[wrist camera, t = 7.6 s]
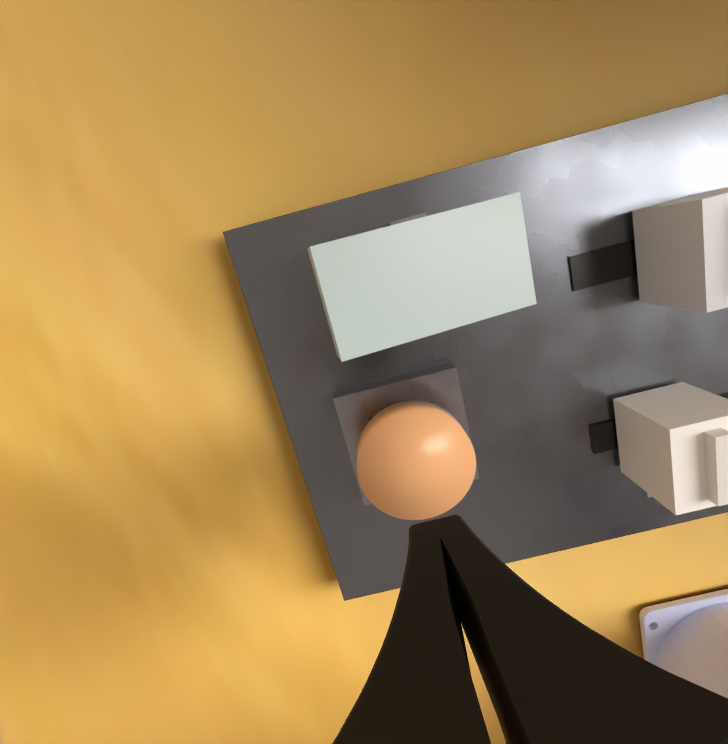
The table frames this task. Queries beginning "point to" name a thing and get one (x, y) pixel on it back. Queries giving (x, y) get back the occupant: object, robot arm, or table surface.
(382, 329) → the plate
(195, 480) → the table surface
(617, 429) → the slider
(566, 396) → the panel
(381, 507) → the button
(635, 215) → the slider
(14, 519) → the table surface
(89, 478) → the table surface
